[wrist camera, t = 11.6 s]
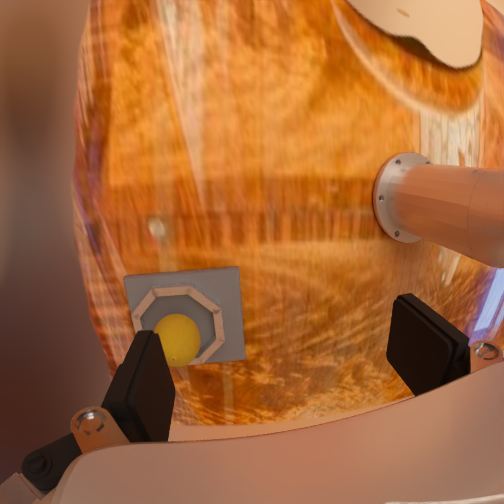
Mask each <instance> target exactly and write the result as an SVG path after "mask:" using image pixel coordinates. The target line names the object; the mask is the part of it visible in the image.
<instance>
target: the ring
mask: <svg viewBox="0 0 504 504" xmlns="http://www.w3.org/2000/svg"><path fill="white" fill-rule="evenodd" d="M185 294H188V295H190V296H191V297H192V298H194V299H195V300H196V301H198V302H199V303H200V304H202V305H203V306H204V307H206V308H207V309H209V310H210V311H211V312H213V316H214V324H215V332H216V334H215V335H214V336H213V337H212V338H211V339H210V340H209V341H208V342H207V343H206V344H205V345H204V347H203V348H202V349H201V350H200V351H199V352H198V354H197V355H196V357H195V358H194V360H193V361H192V362H190V363H189V364H187V365H195V364H203V363H204V362H205V361H206V360H207V359H208V358H209V357H210V356H211V355H212V354H213V353H214V352H215V351H216V350H217V349H218V348H219V347H220V346H221V345H222V344H223V343H224V342H225V336H224V329H223V319H222V310H221V303H219V302H218V301H217V300H215V299H214V298H213V297H211V296H210V295H209V294H207V293H206V292H205V291H203V290H202V289H201V288H200V287H198V286H197V285H196V284H194V283H193V282H192V281H188V282H175V283H163V284H154V285H153V286H152V287H151V288H150V290H149V291H148V292H147V294H146V295H145V296H144V297H143V299H142V300H141V301H140V303H139V304H138V305H137V306H136V308H135V309H134V311H133V313H132V315H131V316H132V321H133V325H134V329H135V333H137V332H138V331H140V330H146V328H145V324H144V319H143V315H142V314H143V313H144V312H145V310H146V309H147V308H148V307H149V305H150V304H151V303H152V302H153V300H154V299H155V298H156V297H159V296H173V295H185Z"/></svg>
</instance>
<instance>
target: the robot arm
mask: <svg viewBox="0 0 504 504" xmlns="http://www.w3.org/2000/svg"><path fill="white" fill-rule="evenodd" d="M373 204H374V211H375V215H376V218H377V220H378V222H379V225H380V226H381V228H382V229H383V231H384V232H385V233H386V234H387V235H388V236H389V237H391V238H393V239H395V240H397V241H399V242H402V243H415V242H418V241H421V240H422V239H426V240H428V241H431V242H434V243H436V244H439V245H441V246H443V247H446V248H448V249H451V250H453V251H456V252H458V253H460V254H463V255H465V256H468V257H470V258H472V259H475V260H477V261H479V262H482V263H484V264H486V265H489V266H491V267H495V268H504V170H498V169H488V168H478V167H466V166H452V165H435V164H432V162H431V161H430V160H428V159H427V158H426V157H425V156H423V155H421V154H418V153H414V152H405V153H399V154H397V155H395V156H393V157H392V158H390V159H389V160H388V161H387V162H386V163H385V164H384V165H383V166H382V168H381V170H380V172H379V173H378V176H377V178H376V181H375V186H374V191H373ZM468 342H469V338H468V337H467V336H466V335H464V334H463V333H462V332H461V331H460V330H458V329H457V328H456V327H455V326H453V325H452V324H451V323H449V322H448V321H447V320H446V319H444V318H443V317H442V316H441V315H439V314H438V313H437V312H435V311H434V310H433V309H432V308H430V307H429V306H428V305H426V304H425V303H424V302H422V301H421V300H420V299H418V298H417V297H416V296H414V295H413V294H411V293H408V294H403V295H399V296H398V297H397V298H396V300H394V303H393V310H392V318H391V326H390V333H389V340H388V346H387V352H386V356H387V360H388V361H389V363H390V364H391V365H392V367H393V368H394V369H395V370H396V372H397V373H398V374H399V376H400V377H401V378H402V379H403V381H404V382H405V383H406V385H407V386H408V387H409V389H410V390H411V391H412V392H413V394H414V395H415V397H412V398H409V399H406V400H404V401H401V402H398V403H395V404H392V405H389V406H386V407H383V408H379V409H376V410H373V411H370V412H366V413H363V414H359V415H356V416H352V417H348V418H345V419H340V420H336V421H332V422H328V423H324V424H319V425H314V426H310V427H305V428H299V429H294V430H288V431H283V432H277V433H271V434H263V435H255V436H247V437H238V438H227V439H214V440H197V441H171V442H168V437H169V430H170V424H171V418H172V411H173V405H174V400H175V386H174V383H173V380H172V377H171V374H170V370H169V367H168V364H167V361H166V357H165V354H164V350H163V347H162V343H161V340H160V336H159V334H158V333H154V331H153V330H140V331H138V332H137V333H136V335H135V337H134V340H133V342H132V344H131V346H130V348H129V350H128V352H127V355H126V357H125V359H124V361H123V363H122V364H120V365H119V367H118V369H117V371H116V373H115V376H114V378H113V380H112V382H111V385H110V387H109V389H108V391H107V394H106V396H105V399H104V401H103V403H102V405H101V407H89V408H85V409H83V410H81V411H79V412H78V413H77V414H76V415H75V416H74V417H73V419H72V421H71V430H72V433H70V434H69V435H67V436H64V437H63V438H61V439H58V440H56V441H54V442H52V443H50V444H48V445H46V446H44V447H42V448H40V449H38V450H36V451H33V452H31V453H30V454H28V455H27V456H26V457H25V459H24V461H23V463H22V473H21V474H20V475H18V474H17V473H15V474H14V475H12V476H11V477H10V478H9V479H8V480H7V481H5V482H4V483H3V484H2V485H0V504H504V357H503V352H502V350H501V348H500V347H499V346H498V345H496V344H495V343H493V342H490V341H477V342H475V343H473V344H472V346H471V348H470V347H469V346H468Z"/></svg>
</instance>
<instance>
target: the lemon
mask: <svg viewBox="0 0 504 504" xmlns="http://www.w3.org/2000/svg"><path fill="white" fill-rule="evenodd" d="M154 333H158V334H159V336H160V340H161V343H162V347H163V350H164V354H165V357H166V361H167V364H168V366H171V367H182V366H185V365H187V364H189V363H190V362H192V361H193V360H194V358H195V357H196V355H197V354H198V351H199V348H200V344H201V338H200V332H199V329H198V327H197V325H196V324H195V322H194V321H193V320H192V319H190V318H189V317H187V316H185V315H182V314H170V315H168V316H165V317H164V318H162V319H161V320H160V321H159V322H158V324H157V325H156V327H155V329H154Z"/></svg>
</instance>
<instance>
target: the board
mask: <svg viewBox="0 0 504 504" xmlns="http://www.w3.org/2000/svg"><path fill="white" fill-rule="evenodd" d="M188 281H192V282H193V283H194V284H196V285H197V286H198V287H200V288H201V289H202V290H203V291H205V292H206V293H207V294H209V295H210V296H211V297H213V298H214V299H215V300H217V301H218V302H219V303H221V310H222V319H223V329H224V336H225V342H224V343H223V344H222V345H221V346H220V347H219V348H218V349H217V350H216V351H215V352H214V353H213V354H212V355H211V356H210V357H209V358H208V359H207V360H206V361H205V362H204V363H213V362H225V361H235V360H244V359H246V356H245V344H244V331H243V318H242V304H241V291H240V277H239V267H238V266H236V267H225V268H213V269H202V270H190V271H178V272H166V273H154V274H141V275H128V276H125V277H124V283H125V288H126V293H127V297H128V302H129V307H130V311H131V315H132V313H133V311H134V309H135V308H136V306H137V305H138V304H139V303H140V301H141V300H142V299H143V297H144V296H145V295H146V294H147V292H148V291H149V290H150V288H151V287H152V286H153V285H154V284H163V283H175V282H188ZM170 314H182V315H185V316H187V317H189V318H190V319H192V320H193V321H194V322H195V324H196V325H197V327H198V329H199V332H200V338H201V344H200V348H199V351H200V350H201V349H202V348H203V347H204V345H205V344H206V343H207V342H208V341H209V340H210V339H211V338H212V337H213V336H214V335H215V334H216V332H215V324H214V316H213V312H211V311H210V310H209V309H207V308H206V307H204V306H203V305H202V304H200V303H199V302H198V301H196V300H195V299H194V298H192V297H191V296H190V295H188V294H185V295H173V296H159V297H156V298H155V299H154V300H153V302H152V303H151V304H150V305H149V307H148V308H147V309H146V310H145V312H144V313H143V314H142V315H143V319H144V324H145V328H146V330H153V331H154V329H155V327H156V325H157V324H158V322H159V321H160V320H161V319H162V318H164V317H165V316H168V315H170ZM199 351H198V352H199Z"/></svg>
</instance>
